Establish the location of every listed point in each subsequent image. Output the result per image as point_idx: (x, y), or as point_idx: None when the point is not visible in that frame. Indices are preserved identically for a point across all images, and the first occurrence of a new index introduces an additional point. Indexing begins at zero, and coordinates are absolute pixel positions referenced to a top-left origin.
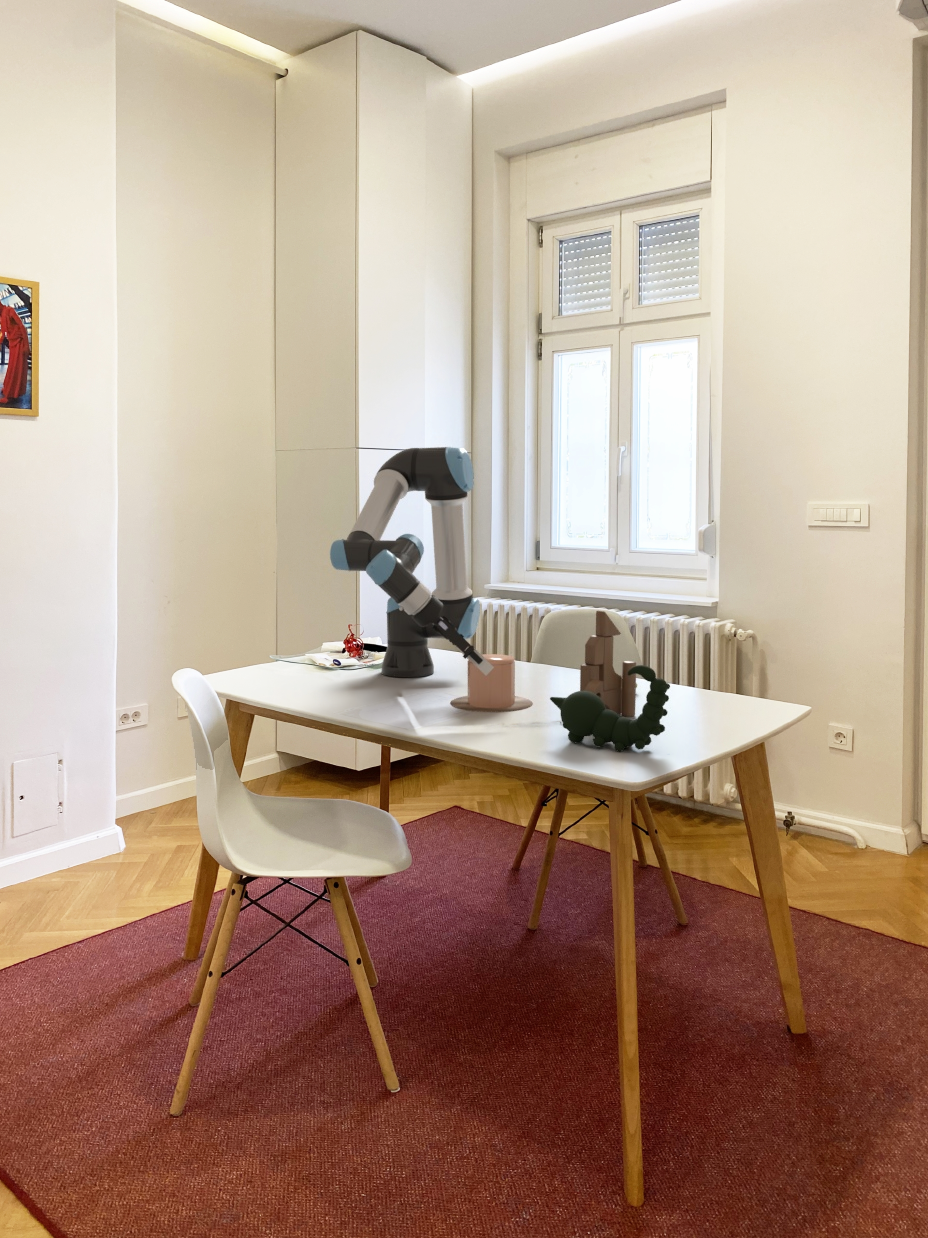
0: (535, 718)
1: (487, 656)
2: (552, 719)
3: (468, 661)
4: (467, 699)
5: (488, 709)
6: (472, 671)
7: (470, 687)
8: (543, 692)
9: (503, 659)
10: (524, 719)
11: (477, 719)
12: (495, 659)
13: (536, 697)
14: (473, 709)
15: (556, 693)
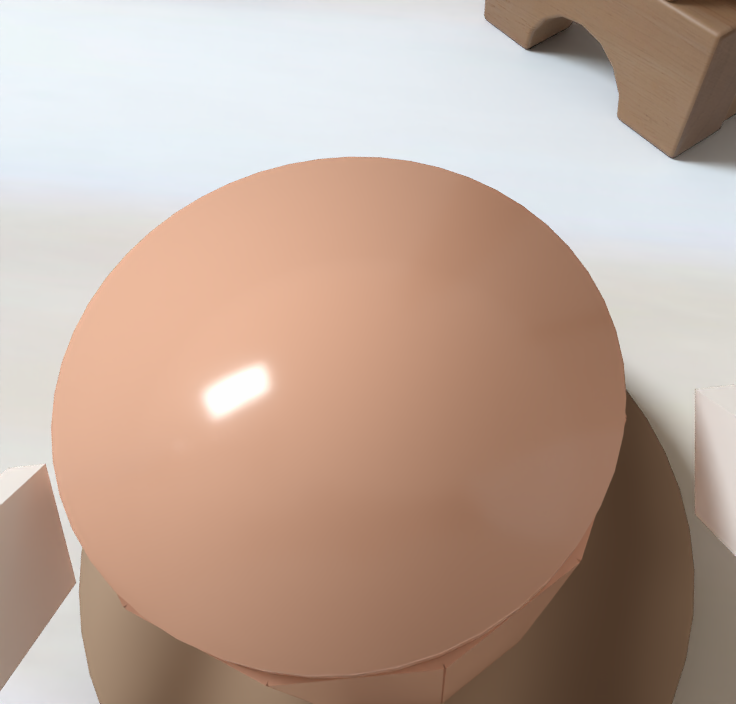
0: (638, 307)
1: (215, 396)
2: (654, 234)
3: (317, 678)
4: (229, 701)
5: (600, 566)
6: (482, 648)
7: (448, 688)
8: (10, 211)
9: (442, 249)
10: (671, 365)
11: (710, 675)
12: (437, 325)
13: (116, 252)
14: (604, 691)
15: (56, 162)
